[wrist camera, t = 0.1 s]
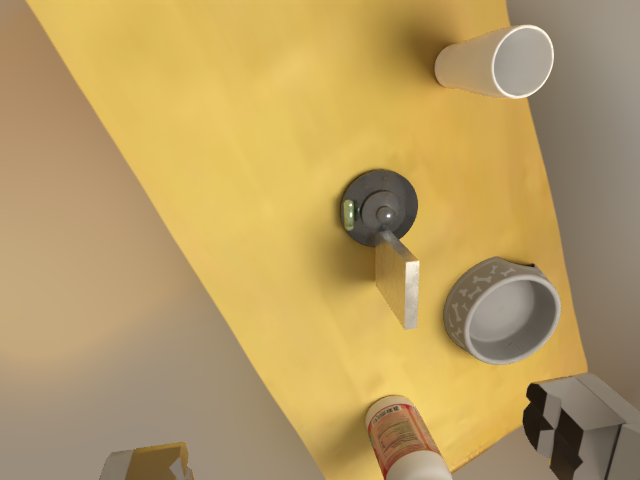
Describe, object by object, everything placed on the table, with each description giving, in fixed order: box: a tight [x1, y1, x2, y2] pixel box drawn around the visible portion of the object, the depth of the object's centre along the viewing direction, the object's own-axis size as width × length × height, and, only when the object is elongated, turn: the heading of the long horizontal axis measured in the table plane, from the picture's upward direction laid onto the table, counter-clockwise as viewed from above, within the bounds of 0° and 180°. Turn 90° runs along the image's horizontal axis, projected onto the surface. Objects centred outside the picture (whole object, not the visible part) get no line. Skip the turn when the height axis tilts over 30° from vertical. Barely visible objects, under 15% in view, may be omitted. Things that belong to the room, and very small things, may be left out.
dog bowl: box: [443, 257, 561, 365], centre depth 67 cm, size 17×18×5 cm
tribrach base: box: [340, 169, 418, 247], centre depth 59 cm, size 11×11×2 cm
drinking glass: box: [435, 25, 554, 99], centre depth 48 cm, size 7×7×15 cm
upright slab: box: [360, 190, 419, 330], centre depth 55 cm, size 14×6×12 cm, turn 4°
